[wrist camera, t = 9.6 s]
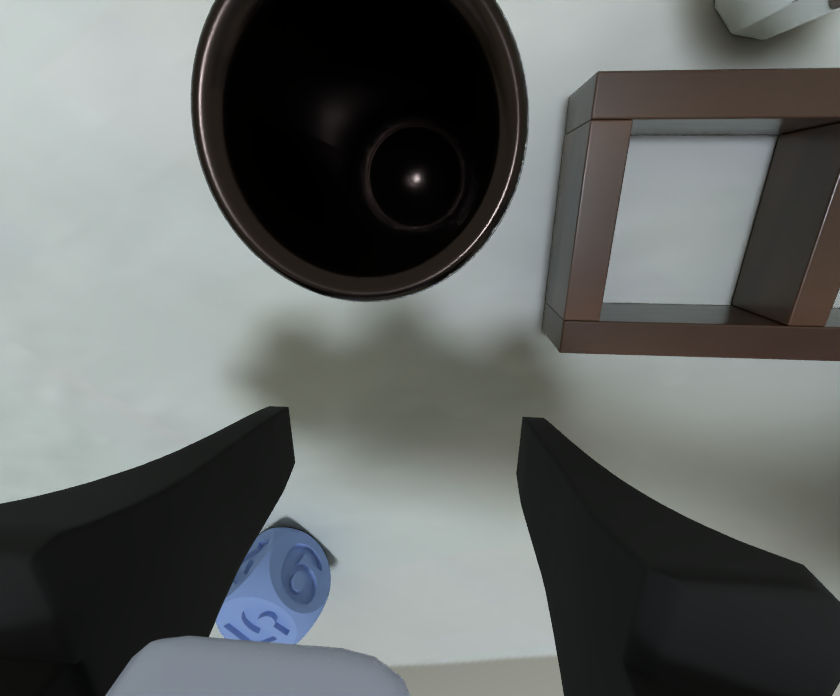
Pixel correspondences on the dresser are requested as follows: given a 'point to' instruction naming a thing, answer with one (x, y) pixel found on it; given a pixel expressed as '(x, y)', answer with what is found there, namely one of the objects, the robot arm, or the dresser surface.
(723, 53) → the dresser surface
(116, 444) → the dresser surface
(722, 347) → the holder
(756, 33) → the milkshake
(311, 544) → the decorative dice
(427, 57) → the grey hollow cylinder
